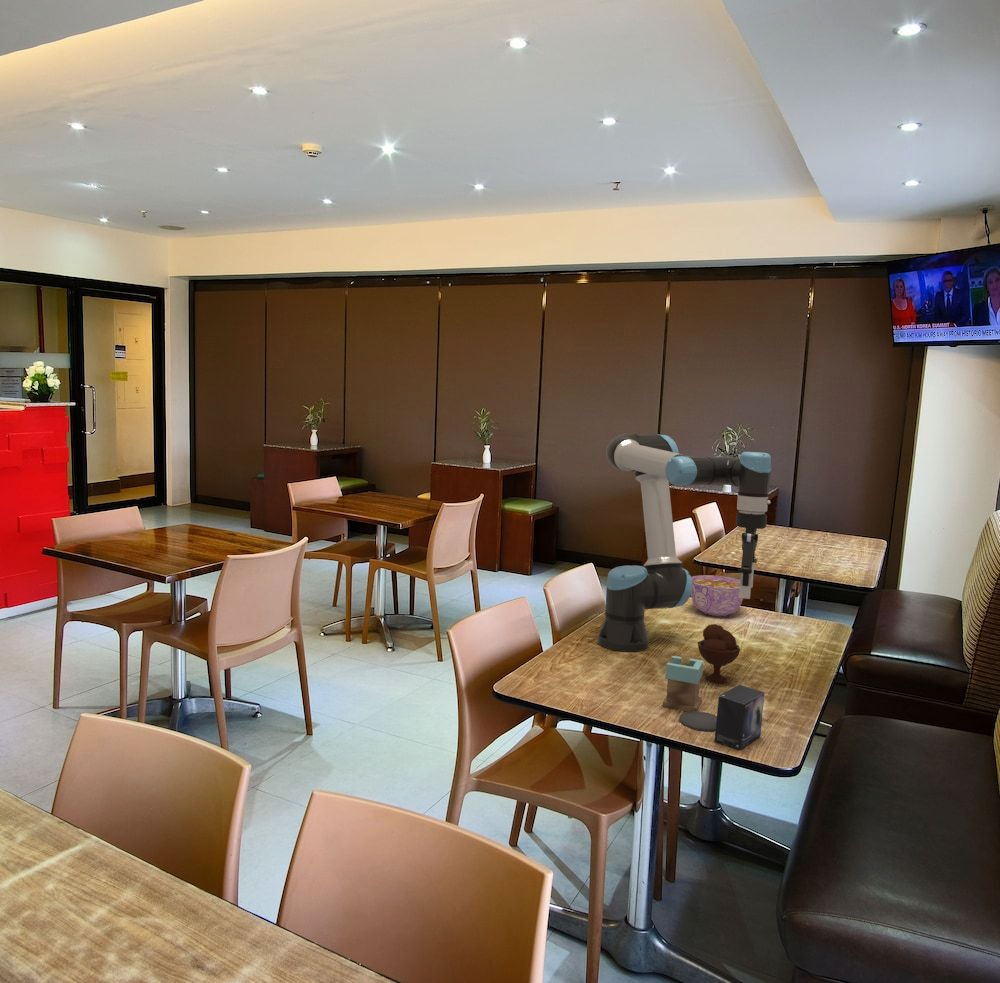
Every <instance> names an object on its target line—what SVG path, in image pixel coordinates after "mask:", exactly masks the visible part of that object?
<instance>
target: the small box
mask: <svg viewBox="0 0 1000 983" xmlns="http://www.w3.org/2000/svg"><path fill="white" fill-rule="evenodd" d="M764 698H765V692H764V691H761V690H758V689H755V688H751V687H748V686H745V685H742V684H738V685H736V686H735V687H733V688H730V689H728V690H727V691H725V692H722V693H721V694H719V695H718V698H717V699H718V700H717V711H716V716H717V721H716V730H715V731H714V732H715V733H714V740H713V741H714V742H716V743H719V744H721V745H725V746H727V747H731V748H733V749H736V750H742V749H744V748H746V747H747V746H748V745H749V744H751V743H753V742H754V741H756V740H758V739H759V738H761V735H762V726H763V725H762V722H763V712H764V710H763V709H764V702H765V699H764Z"/></svg>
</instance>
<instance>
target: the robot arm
mask: <svg viewBox="0 0 1000 983" xmlns="http://www.w3.org/2000/svg"><path fill="white" fill-rule="evenodd" d="M605 453H606V454H605V456H606V459H607V462H608V463H609V464H610V466H611V467H613V468H614V469H615V470H618V471H624V472H634V478H635V480H636V481H637V482H639V483H640V490H641V499H642V510H643V520H644V531H645V542H646V552H647V561H645V563H644V564H643V566H642V565H637V564H635V565H621V566H616V567H614V568H612V569H610V571H609V572H608V573H607V579H606V584H605V586H606V591H605V612H604V613H605V614H604V619H603V622H602V625H601V626H600V629H599V632H598V635H597V643H598V645H600V646H602V647H603V648H606V649H609V650H612V651H619V652H640V651H644V650H647V649H648V648H649V642H650V640H649V634H648V631H647V628H646V623H645V611H646V610H654V609H655V610H656V609H673V608H677V607H682V606H684V605H685V604H686V603H688V601H689V599H690V597H691V592H692V578H691V577H692V576H691V575H690V572H689V571H688V570H687V569H685V568H683V561H681V560H680V559H679V558H677V551H676V541H675V531H674V521H673V513H672V512H673V511H672V503H671V502H672V501H671V492H670V484H672V485H675V486H682V487H683V486H684V487H685V486H733V487H738V491H737V502H736V509H737V512H736V517H735V518H736V520H735V525H736V527H739V528H744V529H745V532H742V534H741V550H742V554H741V566H740V568H737V572H738V573H740V574H739V575H740V576H739V580H740V587H739V598H743V599H748V600H750V599H751V592H752V591H751V590H752V588H753V585H754V574H755V572H754V571H755V564H757V563H758V559H757V558H756V556H755V554H756V551H757V545H758V540H759V534H758V533H757V530H761V529H762V530H763V529H766V527H767V522H768V521H767V520H768V519H767V518H768V515H767V514H766V513H767V512H768V505H770V504H771V500H768V499H769V495H770V494H769V493H770V482H771V473H772V456H771V455H770V454H769V453H767V452H758V451H743V452H742V453H741V454H740V455H741V456H740V458H739V457H735V456H734V457H733V456H730V455H729V456H728V455H717V456H691V455H688V454H682V453H680V452H679V448H678V446H677V443H676V441H675V440H674V439H672V437H670V436H669V435H666V434H659V433H622V434H619V435H617V436H616V437H613V438H612V439H611V440H610V441H609V443H608V445H607V447H606V452H605Z"/></svg>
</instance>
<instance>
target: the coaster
mask: <svg viewBox="0 0 1000 983" xmlns="http://www.w3.org/2000/svg"><path fill="white" fill-rule="evenodd" d="M678 721H679V722H680V723H681V725H683V726H684V727H687V728H689V729H691V730H695V731H700V732H715V730H716V721H717V714H716V715H715V714H713V713H709V712H706V711H690V712H688V711H684V712H682V713H681V714H680V715H679V717H678Z"/></svg>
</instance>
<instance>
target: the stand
mask: <svg viewBox="0 0 1000 983" xmlns="http://www.w3.org/2000/svg"><path fill="white" fill-rule="evenodd" d="M680 657H681V665H685V666H689V662H690V659H691V654H690V653H687V652H683V653H681V656H680ZM700 681H701V679H700V680H699V682H698V684H694V683H688V682H683V681H677V680H671V679H667V689H666V696H665V698H664V699H663V701H662V708H665V709H667V708H668V709H671V710H672V709H673V710H678V711H682V712H683V711H684V712H690V711H698V710H699V708H700V706H701V704H702V702H703V701H702V700H703V697H702V696H700V684H701V682H700Z"/></svg>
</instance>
